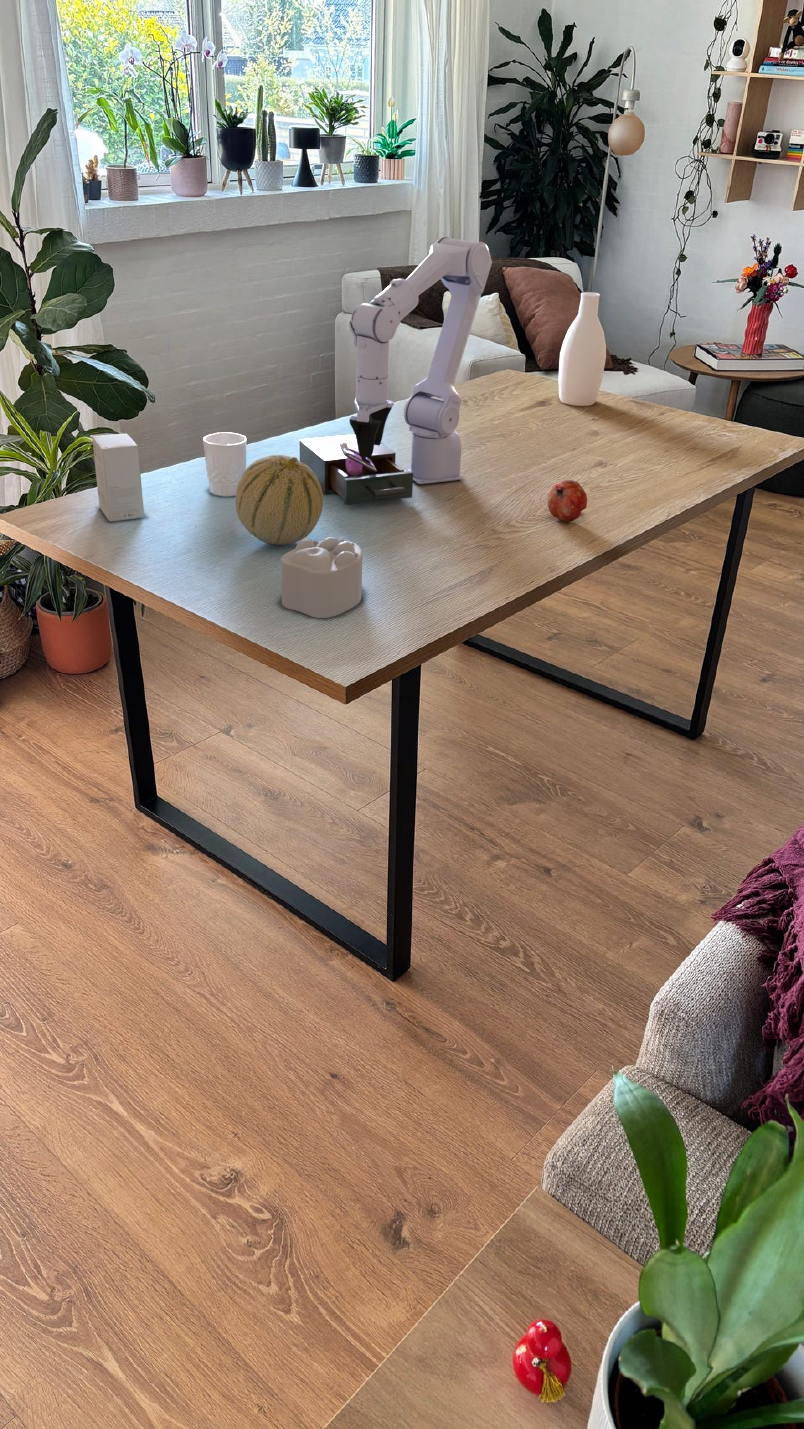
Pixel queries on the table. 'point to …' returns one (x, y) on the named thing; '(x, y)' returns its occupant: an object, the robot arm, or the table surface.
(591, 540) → the table surface
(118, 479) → the small box
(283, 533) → the cantaloupe
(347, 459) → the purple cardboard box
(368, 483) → the drawer
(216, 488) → the white cup
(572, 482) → the pomegranate
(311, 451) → the cabinet
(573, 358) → the bottle
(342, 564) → the lumpy-topped squat cylinder
